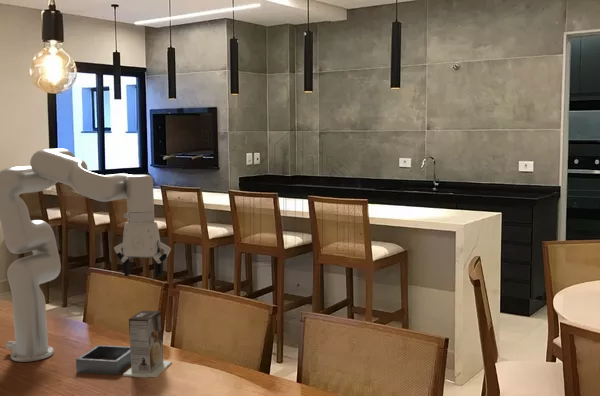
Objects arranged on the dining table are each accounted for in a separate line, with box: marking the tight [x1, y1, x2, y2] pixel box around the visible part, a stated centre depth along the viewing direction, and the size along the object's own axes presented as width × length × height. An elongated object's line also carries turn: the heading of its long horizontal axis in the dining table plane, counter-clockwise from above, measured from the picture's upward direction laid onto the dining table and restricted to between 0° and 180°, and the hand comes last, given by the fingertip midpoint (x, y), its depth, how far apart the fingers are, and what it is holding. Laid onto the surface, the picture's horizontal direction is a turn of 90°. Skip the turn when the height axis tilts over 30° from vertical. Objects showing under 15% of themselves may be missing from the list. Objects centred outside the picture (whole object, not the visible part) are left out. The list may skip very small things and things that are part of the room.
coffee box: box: [128, 310, 164, 373], centre depth 194 cm, size 9×6×16 cm
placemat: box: [122, 360, 173, 379], centre depth 195 cm, size 10×12×1 cm
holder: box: [75, 344, 131, 376], centre depth 198 cm, size 13×13×4 cm
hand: (143, 275), depth 192 cm, fingers open, 9 cm apart
